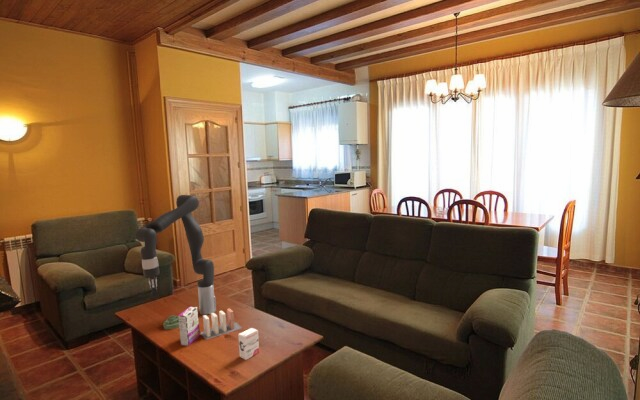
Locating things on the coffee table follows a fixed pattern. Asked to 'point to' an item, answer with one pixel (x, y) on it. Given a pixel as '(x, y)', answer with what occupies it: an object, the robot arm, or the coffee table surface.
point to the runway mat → (221, 331)
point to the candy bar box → (189, 326)
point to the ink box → (248, 343)
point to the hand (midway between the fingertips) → (155, 297)
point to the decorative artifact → (171, 322)
